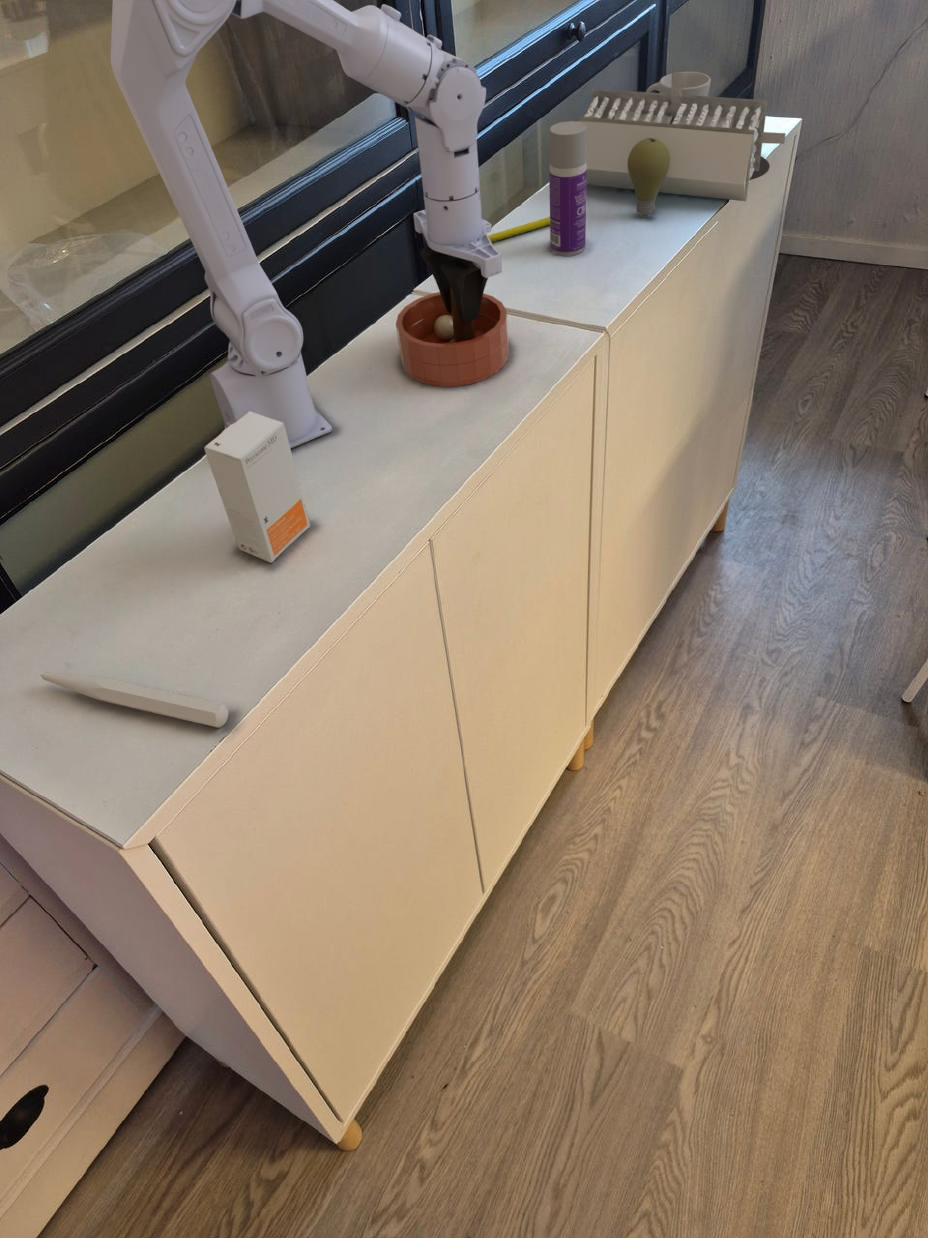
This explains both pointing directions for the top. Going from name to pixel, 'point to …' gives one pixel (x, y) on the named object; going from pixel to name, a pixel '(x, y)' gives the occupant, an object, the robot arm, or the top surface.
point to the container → (567, 188)
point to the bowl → (446, 360)
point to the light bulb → (648, 172)
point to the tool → (143, 698)
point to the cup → (685, 84)
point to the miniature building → (678, 139)
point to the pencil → (519, 229)
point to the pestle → (460, 325)
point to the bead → (444, 327)
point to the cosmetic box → (258, 485)
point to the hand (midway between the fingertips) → (462, 314)
